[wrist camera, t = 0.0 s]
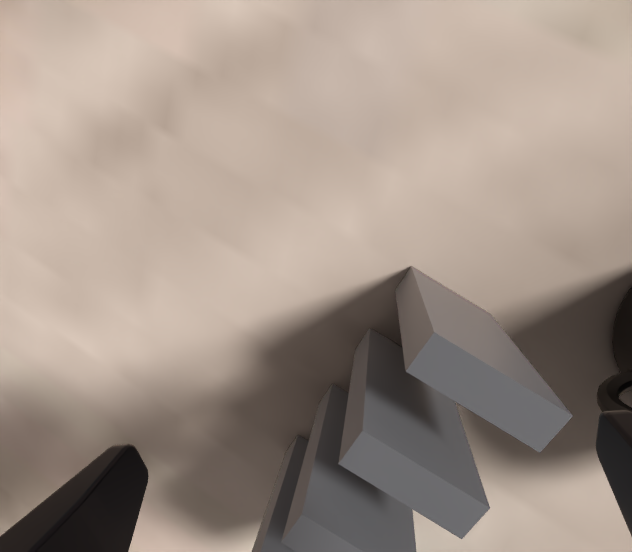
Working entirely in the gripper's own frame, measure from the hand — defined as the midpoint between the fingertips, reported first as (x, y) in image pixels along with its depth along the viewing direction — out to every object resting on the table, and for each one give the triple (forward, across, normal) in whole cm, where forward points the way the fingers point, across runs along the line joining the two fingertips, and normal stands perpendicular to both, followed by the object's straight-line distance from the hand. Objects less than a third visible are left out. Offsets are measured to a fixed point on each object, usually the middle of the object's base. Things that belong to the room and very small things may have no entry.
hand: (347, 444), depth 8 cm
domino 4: (+14, -1, +9) cm, 16 cm away
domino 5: (+14, -4, +6) cm, 16 cm away
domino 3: (+13, +2, +12) cm, 18 cm away
